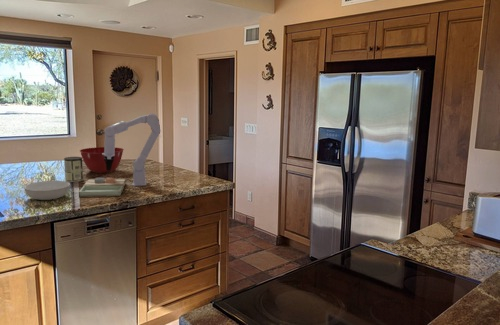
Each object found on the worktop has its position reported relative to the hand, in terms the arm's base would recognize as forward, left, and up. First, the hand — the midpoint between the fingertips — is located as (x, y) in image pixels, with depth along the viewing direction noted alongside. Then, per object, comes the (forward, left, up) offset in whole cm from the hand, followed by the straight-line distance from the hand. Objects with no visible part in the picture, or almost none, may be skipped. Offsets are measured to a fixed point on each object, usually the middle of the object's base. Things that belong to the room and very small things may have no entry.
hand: (108, 169), depth 230 cm
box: (+20, -1, -10) cm, 22 cm away
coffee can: (-14, -22, -10) cm, 28 cm away
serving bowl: (+27, -26, -10) cm, 39 cm away
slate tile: (+5, -4, -7) cm, 10 cm away
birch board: (+5, -1, -10) cm, 11 cm away
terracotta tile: (+5, +2, -7) cm, 9 cm away
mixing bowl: (-41, -9, -10) cm, 43 cm away
